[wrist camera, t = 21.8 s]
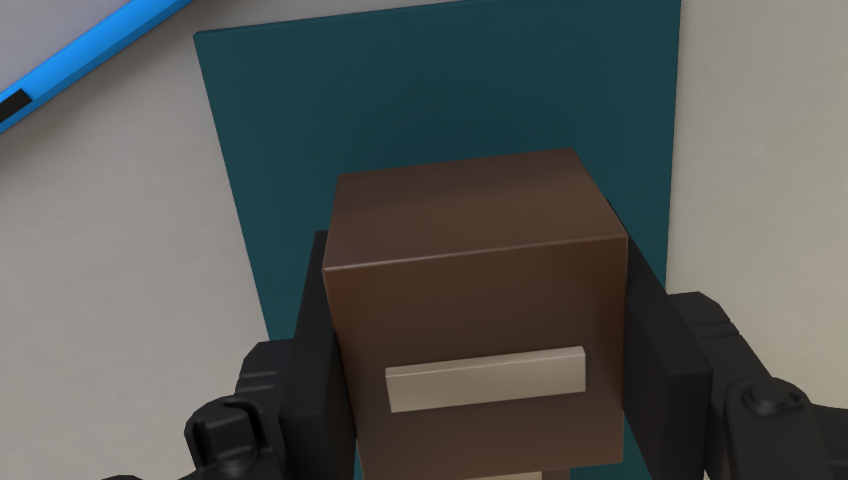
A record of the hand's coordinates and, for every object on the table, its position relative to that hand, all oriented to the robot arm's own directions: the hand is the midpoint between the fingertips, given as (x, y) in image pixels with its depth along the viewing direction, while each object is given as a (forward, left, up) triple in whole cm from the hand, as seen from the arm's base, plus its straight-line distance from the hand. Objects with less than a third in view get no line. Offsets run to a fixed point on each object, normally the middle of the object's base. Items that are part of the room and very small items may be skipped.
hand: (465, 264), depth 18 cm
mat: (+5, 0, -6) cm, 8 cm away
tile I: (0, 0, 0) cm, 0 cm away
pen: (-6, -8, -7) cm, 12 cm away
